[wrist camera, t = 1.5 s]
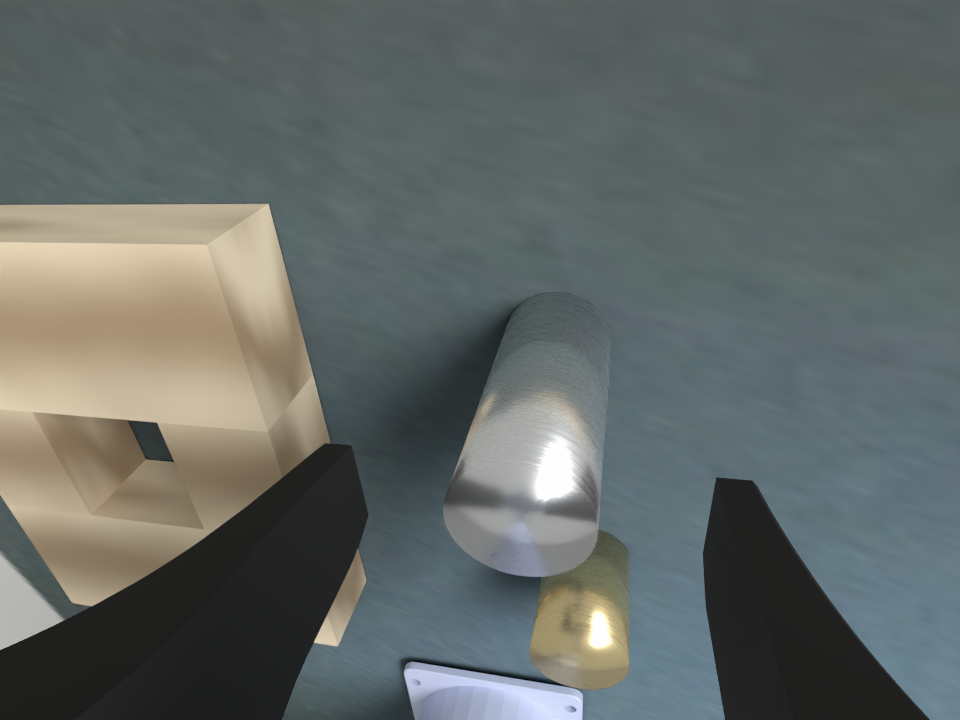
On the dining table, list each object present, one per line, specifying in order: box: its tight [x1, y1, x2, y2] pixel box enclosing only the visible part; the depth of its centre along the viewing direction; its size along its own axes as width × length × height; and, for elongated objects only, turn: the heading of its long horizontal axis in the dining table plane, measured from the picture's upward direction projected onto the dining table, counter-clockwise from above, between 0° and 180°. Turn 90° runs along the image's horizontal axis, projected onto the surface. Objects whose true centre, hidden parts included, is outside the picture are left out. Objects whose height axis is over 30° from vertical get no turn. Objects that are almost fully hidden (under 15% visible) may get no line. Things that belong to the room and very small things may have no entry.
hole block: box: [0, 204, 367, 646], centre depth 21 cm, size 16×12×3 cm
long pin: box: [443, 293, 611, 577], centre depth 15 cm, size 3×3×7 cm
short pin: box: [530, 530, 630, 690], centre depth 20 cm, size 3×3×4 cm
